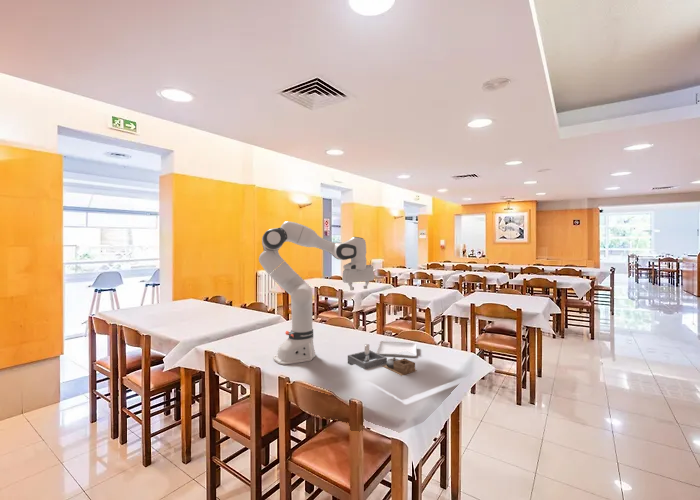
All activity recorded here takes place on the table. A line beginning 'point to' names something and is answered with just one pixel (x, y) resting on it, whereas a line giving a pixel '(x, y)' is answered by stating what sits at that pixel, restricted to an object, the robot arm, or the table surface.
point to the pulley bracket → (400, 366)
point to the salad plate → (396, 348)
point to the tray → (360, 359)
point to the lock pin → (366, 352)
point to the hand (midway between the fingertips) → (358, 289)
